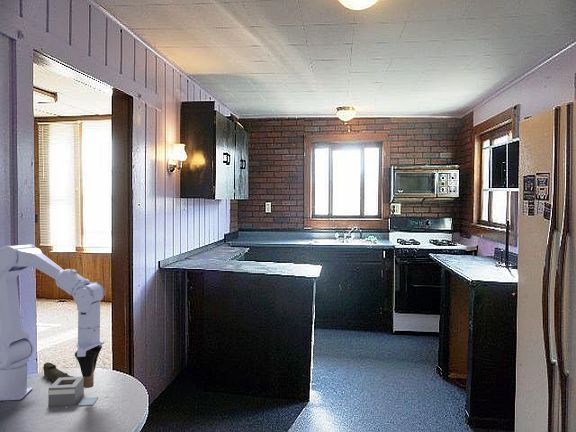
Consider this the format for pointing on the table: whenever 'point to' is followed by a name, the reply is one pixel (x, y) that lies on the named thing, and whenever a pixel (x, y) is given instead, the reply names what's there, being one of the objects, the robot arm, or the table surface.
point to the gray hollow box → (65, 391)
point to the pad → (88, 401)
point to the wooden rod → (89, 380)
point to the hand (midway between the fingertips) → (88, 374)
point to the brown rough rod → (53, 372)
